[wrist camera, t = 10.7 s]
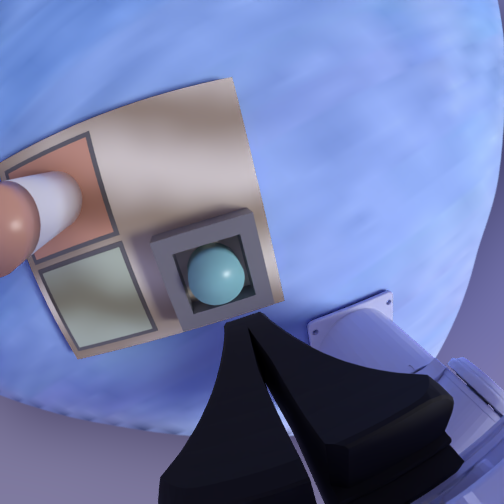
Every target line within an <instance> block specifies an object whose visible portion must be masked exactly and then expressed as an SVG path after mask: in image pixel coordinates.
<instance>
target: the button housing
mask: <svg viewBox="0 0 504 504" xmlns="http://www.w3.org/2000/svg"><path fill="white" fill-rule="evenodd" d="M235 235H237V236H238V240H239V243H240V247H241V251H242V255H243V259H244V262H245V266H246V270H247V274H248V277H249V281H250V285H247V286H244V287H243V288H242V290H241V292H240V293H239V294H238V295H237V296H236V297H235V298H234V299H233V300H231V301H230V302H228V303H225V304H221V305H209V304H206V303H203V302H201V301H200V300H198V301H195V302H192V301H191V298H190V295H189V292H188V290H187V287H186V284H185V281H184V278H183V276H182V273H181V270H180V267H179V264H178V261H177V258H176V255H175V254H176V253H179V252H182V251H186V250H189V249H192V248H195V247H199V246H202V245H205V244H209V243H212V242H215V241H219V240H222V239H225V238H229V237H232V236H235ZM150 246H151V249H152V252H153V255H154V257H155V260H156V263H157V266H158V269H159V271H160V274H161V277H162V279H163V282H164V285H165V287H166V290H167V292H168V295H169V298H170V300H171V303H172V305H173V308H174V310H175V313H176V315H177V318H178V320H179V322H180V325H181V327H182V330H183V332H184V331H188V330H191V329H195V328H198V327H202V326H205V325H208V324H212V323H215V322H218V321H222V320H225V319H228V318H231V317H234V316H238V315H241V314H244V313H247V312H250V311H253V310H257V309H260V308H263V307H266V306H269V305H272V304H275V303H274V299H273V295H272V290H271V286H270V282H269V278H268V273H267V269H266V265H265V261H264V256H263V252H262V248H261V244H260V240H259V235H258V231H257V227H256V223H255V219H254V214H253V212H252V211H251V210H250V209H248V208H244V209H240V210H237V211H233V212H230V213H226V214H223V215H219V216H216V217H212V218H209V219H206V220H202V221H199V222H196V223H192V224H189V225H186V226H182V227H179V228H176V229H173V230H169V231H166V232H163V233H160V234H157V235H153V236H152V238H151V241H150Z"/></svg>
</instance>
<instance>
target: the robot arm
mask: <svg viewBox="0 0 504 504" xmlns="http://www.w3.org/2000/svg"><path fill="white" fill-rule="evenodd" d="M387 301H388V302H387ZM386 302H387V303H386ZM307 329H308V335H309V341H310V346H309V345H307V344H305V343H304V342H302V341H300V340H299V339H297V338H295V337H294V336H292V335H291V334H289V333H288V332H286V331H285V330H283V329H282V328H280V327H279V326H278V325H276V324H275V323H274V322H272V321H271V320H270V319H269V318H268V317H266V316H265V315H264V314H263V313H261V312H258V313H255V314H252V315H249V316H246V317H243V318H240V319H237V320H234V321H231V322H228V323H226V324H225V326H224V332H225V334H224V346H223V352H222V358H221V363H220V367H219V371H218V375H217V378H216V382H215V385H214V388H213V391H212V394H211V396H210V399H209V401H208V404H207V406H206V408H205V410H204V412H203V415H202V417H201V419H200V421H199V423H198V424H197V426H196V428H195V430H194V431H193V433H192V435H191V436H190V438H189V440H188V441H187V443H186V444H185V446H184V448H183V449H182V450H181V452H180V453H179V455H178V456H177V457H176V458H175V460H174V461H173V462H172V464H171V465H170V466H169V467H168V469H167V470H166V471H165V472H164V473H163V475H162V476H161V477H160V485H159V497H158V504H317V503H316V500H315V496H314V492H313V488H312V485H311V481H310V478H309V477H308V474H307V472H306V470H305V468H304V465H303V463H302V461H301V459H300V457H299V455H298V453H297V451H296V449H295V447H294V445H293V443H292V441H291V439H290V437H289V436H288V434H287V432H286V430H285V428H284V425H283V423H282V421H281V419H280V417H279V415H278V413H277V411H276V409H275V406H274V404H273V402H272V400H271V398H270V395H269V393H268V390H267V387H266V385H267V386H268V388H269V390H270V392H271V394H272V396H273V397H274V399H275V401H276V403H277V405H278V406H279V408H280V410H281V412H282V414H283V415H284V417H285V419H286V421H287V422H288V424H289V426H290V428H291V430H292V432H293V434H294V436H295V438H296V440H297V442H298V444H299V447H300V449H301V451H302V454H303V456H304V458H305V460H306V463H307V465H308V467H309V469H310V472H311V474H312V476H313V478H314V481H315V482H316V485H317V487H318V490H319V492H320V494H321V496H322V499H323V501H324V503H325V504H504V391H503V390H502V389H501V388H500V387H499V386H498V385H497V384H496V383H495V382H494V381H493V380H492V379H491V378H490V377H488V376H487V375H486V374H485V373H484V372H483V371H481V370H480V369H479V368H478V367H477V366H475V365H474V364H473V363H472V362H470V361H469V360H467V359H466V358H464V357H461V358H457V359H455V358H452V359H451V360H450V361H449V363H448V365H449V366H450V367H451V368H452V369H453V370H454V371H455V372H456V373H457V375H458V376H459V377H460V378H461V379H462V380H463V381H464V382H466V383H467V385H466V384H464V383H463V382H462V381H461V380H460V379H459V378H458V377H457V376H456V375H455V374H453V373H452V372H451V371H450V370H449V369H448V368H447V367H446V366H445V365H443V364H442V363H441V362H440V361H439V360H438V359H437V358H434V357H433V356H432V355H431V354H429V353H428V352H427V351H426V350H425V349H424V348H423V347H422V346H420V345H419V344H418V343H417V342H416V341H415V340H414V339H412V338H411V337H410V336H409V335H408V334H407V333H406V332H404V331H403V330H402V329H401V328H400V327H399V326H398V325H396V324H395V323H394V322H393V293H392V292H391V291H385V292H382V293H380V294H378V295H375V296H373V297H370V298H368V299H366V300H363V301H361V302H358V303H356V304H353V305H351V306H348V307H346V308H343V309H341V310H338V311H336V312H333V313H330V314H328V315H325V316H323V317H320V318H317V319H314V320H312V321H310V322H309V323H308V325H307ZM314 330H316V332H314V333H313V331H314ZM488 404H489V405H491V407H492V408H493V409H494V411H493V410H492V409H491V408H490V407H489V406H488Z"/></svg>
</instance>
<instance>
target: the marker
mask: <svg viewBox="0 0 504 504" xmlns="http://www.w3.org/2000/svg"><path fill="white" fill-rule="evenodd" d="M81 207H82V193H81V190H80V187H79V185H78V183H77V182H76V180H75V179H74V178H73V177H72V176H71V175H69V174H67V173H65V172H62V171H52V172H46V173H41V174H35V175H30V176H25V177H20V178H15V179H11V180H6V181H2V182H0V277H3V276H6V275H8V274H10V273H11V272H12V271H13V270H14V269H16V268H17V267H18V266H19V265H20V264H21V263H23V262H24V261H25V260H26V259H27V258H29V257H30V256H31V255H32V254H34V253H35V252H36V251H37V250H38V249H40V248H41V247H42V246H44V245H45V244H46V243H47V242H49V241H50V240H51V239H53V238H54V237H55V236H56V235H58V234H59V233H60V232H62V231H63V230H64V229H66V228H67V227H68V226H70V225H71V224H72V223H73V222H74V221H75V220H76V219H77V217H78V216H79V213H80V211H81Z"/></svg>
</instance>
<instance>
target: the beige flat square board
mask: <svg viewBox="0 0 504 504" xmlns="http://www.w3.org/2000/svg"><path fill="white" fill-rule="evenodd" d="M52 171H62V172H65V173H67V174H69V175H71V176H72V177H73V178H74V179H75V180H76V182H77V183H78V185H79V187H80V190H81V193H82V207H81V211H80V213H79V216H78V217H77V219H76V220H75V221H74V222H73V223H72V224H71V225H70V226H68V227H67V228H66V229H64V230H63V231H62V232H60V233H59V234H58V235H56V236H55V237H54V238H53V239H51V240H50V241H49V242H47V243H46V244H45V245H44V246H42V247H41V248H40V249H38V250H37V251H36V252H35V253H34V254H32V255H31V256H30V257H29V258H27V260H28V262H29V265H30V267H31V270H32V272H33V274H34V276H35V279H36V281H37V283H38V285H39V288H40V290H41V292H42V294H43V296H44V298H45V300H46V302H47V304H48V306H49V308H50V310H51V312H52V314H53V316H54V318H55V320H56V322H57V324H58V326H59V328H60V329H61V331H62V333H63V335H64V337H65V338H66V340H67V342H68V344H69V345H70V347H71V349H72V351H73V352H74V354H75V356H76V357H77V359H82V358H86V357H90V356H95V355H99V354H103V353H107V352H111V351H115V350H119V349H123V348H127V347H131V346H135V345H138V344H142V343H146V342H150V341H153V340H157V339H161V338H164V337H168V336H171V335H175V334H179V333H182V332H183V330H182V327H181V325H180V322H179V320H178V318H177V315H176V313H175V310H174V308H173V305H172V303H171V300H170V298H169V295H168V292H167V290H166V287H165V285H164V282H163V279H162V277H161V274H160V271H159V269H158V266H157V263H156V260H155V257H154V255H153V252H152V249H151V246H150V241H151V238H152V236H153V235H157V234H160V233H163V232H166V231H169V230H173V229H176V228H179V227H182V226H186V225H189V224H192V223H196V222H199V221H202V220H206V219H209V218H212V217H216V216H219V215H223V214H226V213H230V212H233V211H237V210H240V209H244V208H248V209H250V210H251V211H252V212H253V214H254V219H255V223H256V227H257V231H258V235H259V240H260V244H261V248H262V252H263V256H264V261H265V265H266V269H267V273H268V278H269V282H270V286H271V290H272V295H273V299H274V303H275V304H276V303H279V302H282V301H284V296H283V292H282V287H281V282H280V278H279V273H278V269H277V264H276V260H275V255H274V251H273V246H272V242H271V237H270V233H269V228H268V224H267V220H266V215H265V211H264V206H263V202H262V198H261V194H260V189H259V185H258V181H257V176H256V172H255V168H254V164H253V160H252V155H251V151H250V147H249V143H248V139H247V135H246V131H245V127H244V122H243V118H242V114H241V110H240V106H239V102H238V98H237V94H236V90H235V86H234V82H233V79H232V77H230V78H225V79H220V80H215V81H211V82H206V83H202V84H198V85H194V86H190V87H186V88H182V89H178V90H174V91H171V92H167V93H164V94H160V95H157V96H153V97H150V98H147V99H144V100H141V101H138V102H134V103H131V104H129V105H126V106H123V107H120V108H117V109H114V110H112V111H109V112H106V113H104V114H101V115H98V116H96V117H93V118H91V119H88V120H86V121H83V122H81V123H79V124H76V125H74V126H72V127H69V128H67V129H65V130H63V131H60V132H58V133H56V134H54V135H52V136H50V137H48V138H46V139H43V140H41V141H39V142H37V143H35V144H33V145H32V146H30V147H28V148H26V149H24V150H22V151H20V152H18V153H16V154H15V155H13V156H11V157H9V158H7V159H6V160H4V161H2V162H1V163H0V178H1V182H2V181H6V180H11V179H15V178H20V177H25V176H30V175H35V174H41V173H46V172H52ZM212 243H221V244H224V245H226V246H228V247H229V248H230V249H231V250H232V251H233V252H234V253H235V255H236V257H237V259H238V260H239V262H240V264H241V266H242V268H243V271H244V276H245V280H244V285H243V287H244V286H247V285H250V281H249V277H248V274H247V270H246V266H245V262H244V259H243V255H242V251H241V247H240V243H239V240H238V236H237V235H235V236H232V237H229V238H225V239H222V240H219V241H215V242H212ZM199 247H200V246H199ZM197 248H198V247H195V248H192V249H189V250H186V251H182V252H179V253H176V254H175V255H176V258H177V261H178V264H179V267H180V270H181V273H182V276H183V278H184V281H185V284H186V287H187V290H188V292H189V295H190V298H191V301H192V302H195V301H198V299H197V298H196V297H195V296H194V295H193V294H192V292H191V290H190V287H189V282H188V270H187V265H188V260H189V258H190V256H191V254H192V253H193V252H194V251H195V250H196V249H197ZM272 305H273V304H272ZM269 306H270V305H269ZM266 307H267V306H266ZM263 308H264V307H263ZM260 309H261V308H260ZM257 310H258V309H257ZM253 311H254V310H253ZM250 312H251V311H250ZM247 313H248V312H247ZM244 314H245V313H244ZM241 315H242V314H241ZM238 316H239V315H238ZM234 317H235V316H234ZM231 318H232V317H231ZM228 319H229V318H228ZM225 320H226V319H225ZM222 321H223V320H222ZM218 322H219V321H218ZM215 323H216V322H215ZM212 324H213V323H212ZM208 325H209V324H208ZM205 326H206V325H205ZM202 327H203V326H202ZM198 328H199V327H198ZM195 329H196V328H195ZM191 330H192V329H191ZM188 331H189V330H188ZM184 332H186V331H184Z"/></svg>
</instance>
